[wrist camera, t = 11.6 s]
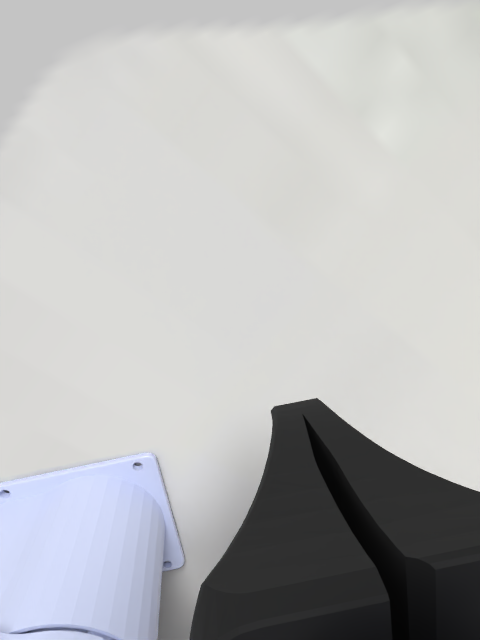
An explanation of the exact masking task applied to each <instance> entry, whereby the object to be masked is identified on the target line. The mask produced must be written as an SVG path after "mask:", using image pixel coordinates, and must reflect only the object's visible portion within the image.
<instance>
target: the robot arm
mask: <svg viewBox="0 0 480 640" xmlns="http://www.w3.org/2000/svg"><path fill="white" fill-rule="evenodd" d="M271 414H272V420H273V426H272V437H271V443H270V449H269V454H268V458H267V462H266V466H265V469H264V473H263V476H262V479H261V482H260V485H259V488H258V491H257V493H256V496H255V498H254V501H253V503H252V505H251V507H250V509H249V512H248V514H247V516H246V518H245V520H244V522H243V524H242V526H241V527H240V529H239V531H238V532H237V534H236V536H235V537H234V539H233V541H232V542H231V544H230V546H229V547H228V549H227V551H226V552H225V554H224V555H223V557H222V558H221V559H220V561H219V562H218V563H217V565H216V566H215V567H214V569H213V570H212V571H211V573H210V574H209V575H208V577H207V578H206V579H205V581H204V582H203V583H202V585H201V588H200V591H199V595H198V599H197V603H196V607H195V612H194V616H193V621H192V627H191V633H190V640H480V492H478V491H475V490H472V489H469V488H466V487H464V486H461V485H458V484H456V483H453V482H450V481H448V480H446V479H443V478H441V477H439V476H436V475H434V474H431V473H429V472H427V471H425V470H423V469H420V468H418V467H416V466H414V465H412V464H411V463H409V462H407V461H405V460H403V459H401V458H399V457H397V456H395V455H394V454H392V453H390V452H388V451H387V450H385V449H384V448H382V447H380V446H379V445H377V444H376V443H374V442H373V441H371V440H370V439H368V438H367V437H365V436H364V435H363V434H361V433H360V432H359V431H357V430H356V429H355V428H353V427H352V426H351V425H349V424H348V423H347V422H345V421H344V420H343V419H342V418H340V417H339V416H338V415H337V414H336V413H334V412H333V411H332V410H331V409H330V408H329V407H327V406H326V405H325V404H324V403H323V402H322V401H320V400H319V399H317V398H315V399H310V400H305V401H300V402H295V403H290V404H285V405H280V406H275V407H274V408H273V409H272V410H271ZM136 462H140V463H141V464H142V465H140V466H136V465H135V464H134V463H136ZM3 490H7V491H9V492H10V493H6V492H4V491H3ZM165 561H170V562H165ZM183 564H184V554H183V550H182V546H181V543H180V539H179V536H178V532H177V529H176V525H175V522H174V518H173V514H172V511H171V507H170V504H169V500H168V497H167V493H166V490H165V486H164V482H163V479H162V475H161V472H160V468H159V465H158V461H157V458H156V456H155V455H154V454H152V453H141V454H137V455H132V456H127V457H122V458H117V459H113V460H108V461H103V462H98V463H93V464H88V465H84V466H79V467H74V468H69V469H64V470H60V471H55V472H50V473H45V474H40V475H36V476H31V477H26V478H21V479H16V480H11V481H7V482H2V483H0V640H157V639H158V624H159V610H160V595H161V581H162V572H163V571H168V570H172V569H177V568H180V567H181V566H183Z"/></svg>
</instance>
